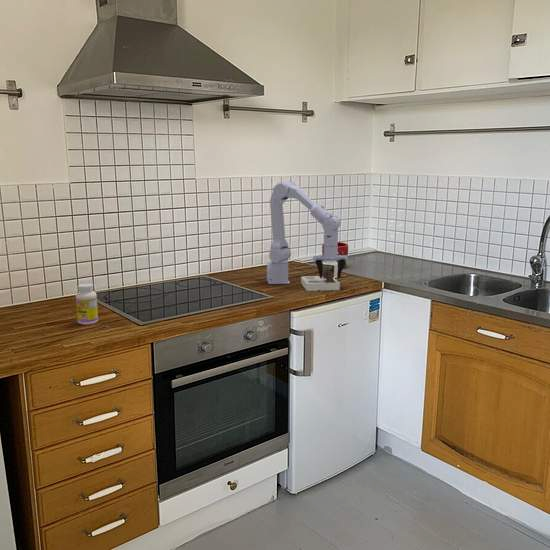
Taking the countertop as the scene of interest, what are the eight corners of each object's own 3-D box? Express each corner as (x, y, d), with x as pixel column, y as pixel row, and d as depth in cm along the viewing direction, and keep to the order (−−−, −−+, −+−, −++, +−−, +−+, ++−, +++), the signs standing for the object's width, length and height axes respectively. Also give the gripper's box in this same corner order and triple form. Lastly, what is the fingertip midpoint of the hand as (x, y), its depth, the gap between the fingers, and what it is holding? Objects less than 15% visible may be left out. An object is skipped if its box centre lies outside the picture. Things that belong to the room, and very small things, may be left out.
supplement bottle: (73, 322, 186) (70, 285, 183) (89, 318, 191) (87, 281, 189) (86, 326, 182) (83, 288, 180) (102, 321, 188) (100, 284, 185)
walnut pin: (325, 287, 237) (325, 271, 236) (331, 287, 238) (332, 271, 237) (327, 289, 235) (327, 272, 233) (334, 288, 235) (334, 272, 234)
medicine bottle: (319, 278, 255) (319, 252, 253) (325, 275, 261) (326, 250, 259) (333, 280, 252) (334, 253, 249) (339, 277, 258) (340, 251, 256)
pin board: (306, 290, 232) (307, 272, 230) (301, 283, 245) (301, 265, 243) (339, 290, 233) (340, 271, 232) (332, 282, 247) (332, 264, 245)
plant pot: (316, 265, 284) (317, 242, 281) (339, 263, 289) (339, 241, 287) (330, 270, 272) (330, 246, 270) (352, 268, 278) (353, 244, 275)
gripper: (315, 247, 228) (314, 279, 231) (350, 247, 229) (348, 279, 232) (312, 244, 234) (311, 276, 237) (345, 244, 236) (344, 275, 239)
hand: (329, 277), depth 235 cm, fingers open, 7 cm apart
